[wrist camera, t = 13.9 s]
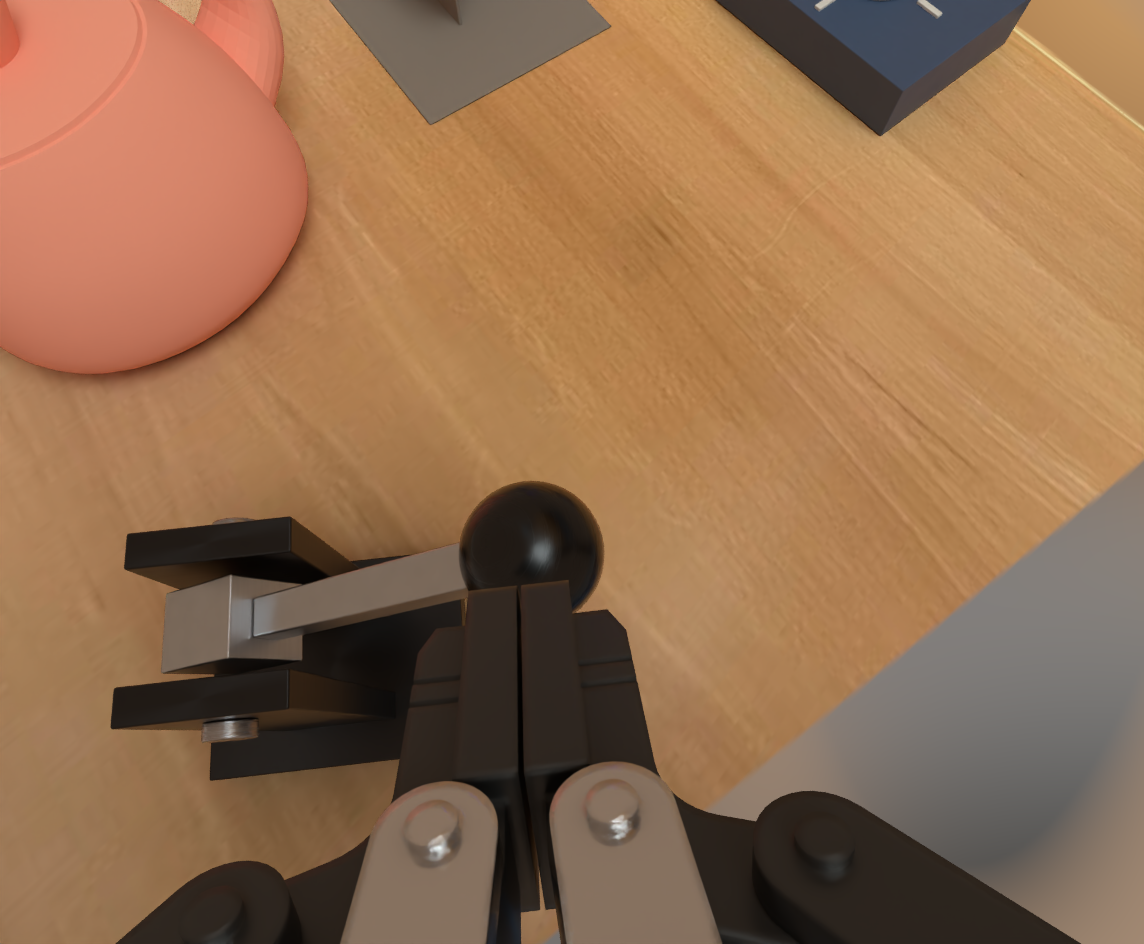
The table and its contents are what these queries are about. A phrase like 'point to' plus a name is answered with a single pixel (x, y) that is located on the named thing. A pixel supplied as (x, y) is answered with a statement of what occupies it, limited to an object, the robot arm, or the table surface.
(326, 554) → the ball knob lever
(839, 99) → the rotary dial base
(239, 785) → the table surface
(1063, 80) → the table surface
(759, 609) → the table surface
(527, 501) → the lever handle
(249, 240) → the teapot
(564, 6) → the platform
